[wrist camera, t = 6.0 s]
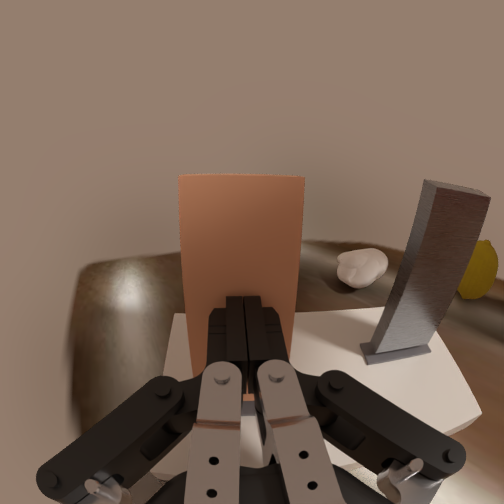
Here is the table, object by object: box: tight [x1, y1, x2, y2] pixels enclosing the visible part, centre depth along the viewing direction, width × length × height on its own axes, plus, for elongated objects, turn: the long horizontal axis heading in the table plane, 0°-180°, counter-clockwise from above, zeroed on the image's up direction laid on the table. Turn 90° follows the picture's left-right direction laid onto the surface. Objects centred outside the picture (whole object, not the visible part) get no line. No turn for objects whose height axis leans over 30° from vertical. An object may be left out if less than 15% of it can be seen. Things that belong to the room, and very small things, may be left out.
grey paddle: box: [370, 179, 491, 353], centre depth 15 cm, size 5×1×12 cm, turn 94°
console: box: [150, 307, 482, 481], centre depth 18 cm, size 22×13×2 cm, turn 94°
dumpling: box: [337, 248, 388, 288], centre depth 29 cm, size 7×5×4 cm
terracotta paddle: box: [178, 174, 305, 401], centre depth 13 cm, size 5×1×12 cm, turn 94°
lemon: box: [457, 240, 498, 299], centre depth 25 cm, size 6×6×8 cm
